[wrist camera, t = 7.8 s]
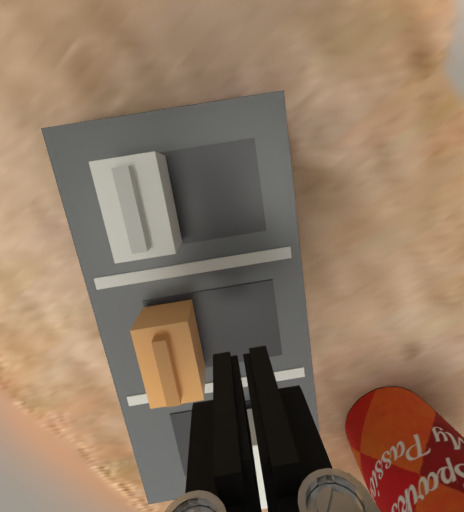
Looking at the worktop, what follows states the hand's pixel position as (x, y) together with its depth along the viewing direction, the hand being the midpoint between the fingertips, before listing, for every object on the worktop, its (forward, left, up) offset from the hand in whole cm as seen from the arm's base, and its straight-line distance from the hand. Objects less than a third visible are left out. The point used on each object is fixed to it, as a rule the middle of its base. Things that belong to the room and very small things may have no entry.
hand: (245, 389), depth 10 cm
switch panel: (+1, -2, -10) cm, 10 cm away
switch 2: (+1, -3, -7) cm, 7 cm away
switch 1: (-6, -3, -7) cm, 9 cm away
